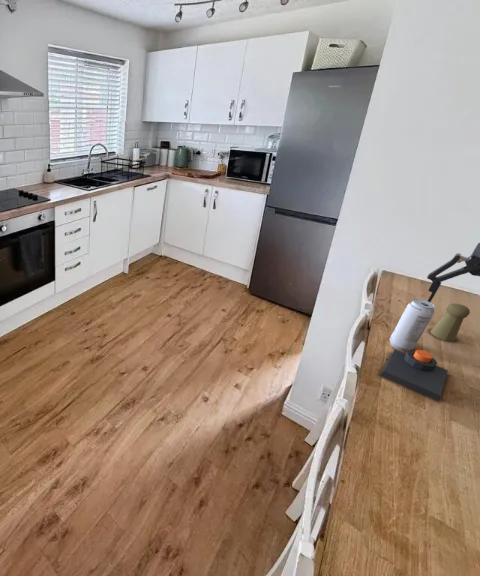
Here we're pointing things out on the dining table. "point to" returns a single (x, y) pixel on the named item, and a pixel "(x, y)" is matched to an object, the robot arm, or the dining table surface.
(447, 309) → the cork
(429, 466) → the dining table surface
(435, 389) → the scale
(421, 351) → the button
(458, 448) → the dining table surface
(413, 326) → the energy drink can
